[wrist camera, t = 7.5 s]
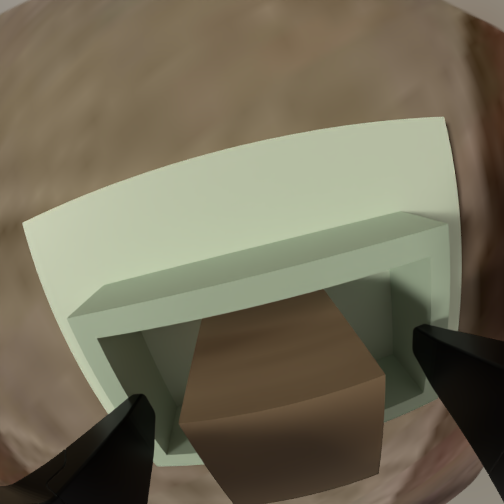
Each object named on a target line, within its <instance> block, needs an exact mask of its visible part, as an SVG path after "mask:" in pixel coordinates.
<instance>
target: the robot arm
mask: <svg viewBox="0 0 504 504" xmlns="http://www.w3.org/2000/svg"><path fill="white" fill-rule="evenodd" d="M412 350H413V354H414V356H415V357H416V359H417V361H418V363H419V365H420V366H421V368H422V370H423V372H424V374H425V376H426V378H427V379H428V381H429V383H430V385H431V386H432V388H433V390H434V391H435V392H436V394H437V395H438V397H439V398H440V400H441V401H442V403H443V404H444V406H445V407H446V408H447V410H448V411H449V413H450V414H451V416H452V417H453V419H454V420H455V422H456V423H457V425H458V426H459V428H460V429H461V431H462V433H463V434H464V436H465V437H466V439H467V440H468V442H469V443H470V445H471V447H472V448H473V450H474V451H475V453H476V455H477V456H478V458H479V460H480V461H481V463H482V465H483V466H484V468H485V470H486V471H487V473H488V474H489V476H490V478H491V480H492V482H493V484H494V485H495V487H496V489H497V491H498V492H499V494H500V496H501V498H502V500H503V501H504V341H500V340H495V339H490V338H486V337H481V336H476V335H472V334H467V333H463V332H459V331H454V330H450V329H445V328H441V327H437V326H433V325H428V324H421V325H419V326H417V327H415V328H414V329H413V339H412ZM155 421H156V415H155V411H154V409H153V407H152V406H151V404H150V402H149V401H148V399H147V397H146V396H145V395H144V394H142V393H140V394H133V395H131V396H130V397H129V398H127V399H126V400H125V401H124V402H123V403H121V404H120V405H119V406H118V407H117V408H115V409H114V410H113V411H112V412H110V413H109V414H108V415H107V416H106V417H104V418H103V419H102V420H101V421H99V422H98V423H97V424H96V425H95V426H93V427H92V428H91V429H90V430H88V431H87V432H86V433H85V434H83V435H82V436H81V437H80V438H78V439H77V440H76V441H75V442H73V443H72V444H71V445H70V446H68V447H67V448H66V450H63V451H62V452H61V453H59V454H58V455H57V456H55V457H54V458H53V459H51V460H50V461H49V462H47V463H46V464H44V465H43V466H41V467H40V468H38V469H37V470H35V471H34V472H32V473H30V474H29V475H27V476H26V477H24V478H22V479H21V480H19V481H17V482H16V483H14V484H11V485H8V486H0V504H147V502H148V494H149V487H150V479H151V472H152V465H153V458H154V447H155Z"/></svg>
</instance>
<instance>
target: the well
mask: <svg viewBox="0 0 504 504" xmlns="http://www.w3.org/2000/svg"><path fill="white" fill-rule="evenodd" d="M23 227H24V231H25V234H26V238H27V241H28V245H29V248H30V251H31V255H32V258H33V261H34V264H35V267H36V270H37V273H38V275H39V278H40V281H41V284H42V286H43V289H44V291H45V294H46V297H47V299H48V302H49V304H50V306H51V309H52V311H53V313H54V316H55V318H56V320H57V323H58V325H59V327H60V329H61V331H62V333H63V335H64V338H65V340H66V342H67V344H68V346H69V348H70V350H71V352H72V354H73V355H74V357H75V359H76V361H77V363H78V365H79V367H80V368H81V370H82V372H83V374H84V376H85V377H86V379H87V381H88V383H89V384H90V386H91V388H92V389H93V391H94V393H95V394H96V396H97V397H98V399H99V401H100V402H101V404H102V405H103V407H104V408H105V410H106V411H107V413H108V414H109V413H110V412H112V411H113V410H114V409H115V408H117V407H118V406H119V405H120V404H121V403H123V402H124V401H125V400H126V399H127V398H129V397H130V396H131V395H133V394H140V393H142V394H144V395H145V396H146V397H147V399H148V401H149V402H150V404H151V406H152V407H153V409H154V411H155V415H156V421H155V447H154V458H153V462H154V463H155V464H156V466H185V465H201V464H204V463H203V461H202V460H201V458H200V457H199V455H198V454H197V452H196V451H195V449H194V448H193V446H192V445H191V443H190V442H189V440H188V438H187V437H186V435H185V434H184V432H183V430H182V429H181V427H180V425H179V424H178V423H179V418H180V414H181V409H182V404H183V399H184V395H185V390H186V385H187V381H188V376H189V372H190V367H191V363H192V359H193V354H194V350H195V345H196V341H197V337H198V333H199V328H200V324H201V320H202V318H207V317H211V316H216V315H220V314H225V313H229V312H233V311H238V310H242V309H246V308H250V307H255V306H259V305H263V304H267V303H271V302H275V301H279V300H283V299H287V298H291V297H294V296H298V295H302V294H306V293H310V292H313V291H317V290H321V289H324V290H325V292H326V293H327V294H328V296H329V297H330V298H331V300H332V301H333V302H334V304H335V305H336V307H337V308H338V309H339V311H340V312H341V313H342V315H343V316H344V317H345V319H346V320H347V321H348V323H349V324H350V326H351V327H352V328H353V330H354V331H355V332H356V334H357V335H358V337H359V338H360V339H361V341H362V342H363V344H364V345H365V346H366V348H367V349H368V351H369V352H370V353H371V355H372V356H373V358H374V359H375V360H376V362H377V363H378V365H379V366H380V367H381V369H382V370H383V372H384V373H385V409H384V422H387V421H389V420H392V419H394V418H397V417H399V416H401V415H404V414H406V413H408V412H410V411H413V410H415V409H417V408H419V407H421V406H423V405H425V404H428V403H430V402H432V401H434V400H436V399H438V395H437V394H436V392H435V391H434V390H433V388H432V386H431V385H430V383H429V381H428V379H427V378H426V376H425V374H424V372H423V370H422V368H421V366H420V365H419V363H418V361H417V359H416V357H415V356H414V354H413V350H412V339H413V329H414V328H415V327H417V326H419V325H421V324H428V325H433V326H437V327H441V328H445V329H450V330H454V331H458V326H459V315H460V301H461V275H462V253H461V227H460V213H459V202H458V192H457V184H456V177H455V170H454V164H453V158H452V152H451V147H450V142H449V137H448V132H447V128H446V123H445V119H444V117H428V118H412V119H400V120H389V121H379V122H370V123H362V124H354V125H347V126H340V127H333V128H327V129H320V130H314V131H309V132H303V133H298V134H292V135H287V136H282V137H277V138H272V139H268V140H263V141H259V142H254V143H250V144H245V145H241V146H237V147H233V148H229V149H225V150H221V151H217V152H213V153H210V154H206V155H202V156H199V157H195V158H192V159H188V160H185V161H181V162H178V163H175V164H172V165H168V166H165V167H162V168H159V169H156V170H153V171H150V172H147V173H144V174H141V175H138V176H135V177H132V178H129V179H126V180H123V181H121V182H118V183H115V184H112V185H110V186H107V187H104V188H102V189H99V190H97V191H94V192H91V193H89V194H86V195H84V196H81V197H79V198H77V199H74V200H72V201H69V202H67V203H65V204H62V205H60V206H58V207H55V208H53V209H51V210H49V211H47V212H44V213H42V214H40V215H38V216H36V217H34V218H31V219H29V220H27V221H25V222H23Z"/></svg>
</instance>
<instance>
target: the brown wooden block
mask: <svg viewBox="0 0 504 504" xmlns="http://www.w3.org/2000/svg"><path fill="white" fill-rule="evenodd" d="M384 409H385V373H384V372H383V370H382V369H381V367H380V366H379V365H378V363H377V362H376V360H375V359H374V358H373V356H372V355H371V353H370V352H369V351H368V349H367V348H366V346H365V345H364V344H363V342H362V341H361V339H360V338H359V337H358V335H357V334H356V332H355V331H354V330H353V328H352V327H351V326H350V324H349V323H348V321H347V320H346V319H345V317H344V316H343V315H342V313H341V312H340V311H339V309H338V308H337V307H336V305H335V304H334V302H333V301H332V300H331V298H330V297H329V296H328V294H327V293H326V292H325V290H324V289H321V290H317V291H313V292H310V293H306V294H302V295H298V296H294V297H291V298H287V299H283V300H279V301H275V302H271V303H267V304H263V305H259V306H255V307H250V308H246V309H242V310H238V311H233V312H229V313H225V314H220V315H216V316H211V317H207V318H202V320H201V324H200V328H199V333H198V337H197V341H196V345H195V350H194V354H193V359H192V363H191V367H190V372H189V376H188V381H187V385H186V390H185V395H184V399H183V404H182V409H181V414H180V418H179V423H178V424H179V425H180V427H181V429H182V430H183V432H184V434H185V435H186V437H187V438H188V440H189V442H190V443H191V445H192V446H193V448H194V449H195V451H196V452H197V454H198V455H199V457H200V458H201V460H202V461H203V463H204V464H205V466H206V467H207V469H208V470H209V472H210V473H211V474H212V476H213V477H214V479H215V480H216V481H217V483H218V484H219V485H220V487H221V488H222V489H223V491H224V492H225V493H226V495H227V496H228V497H229V499H230V500H231V501H232V502H233V504H266V503H272V502H278V501H284V500H289V499H294V498H299V497H303V496H308V495H312V494H316V493H320V492H324V491H327V490H331V489H335V488H338V487H341V486H345V485H348V484H351V483H354V482H357V481H360V480H363V479H366V478H369V477H371V476H374V475H377V474H379V467H380V458H381V449H382V438H383V425H384Z"/></svg>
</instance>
